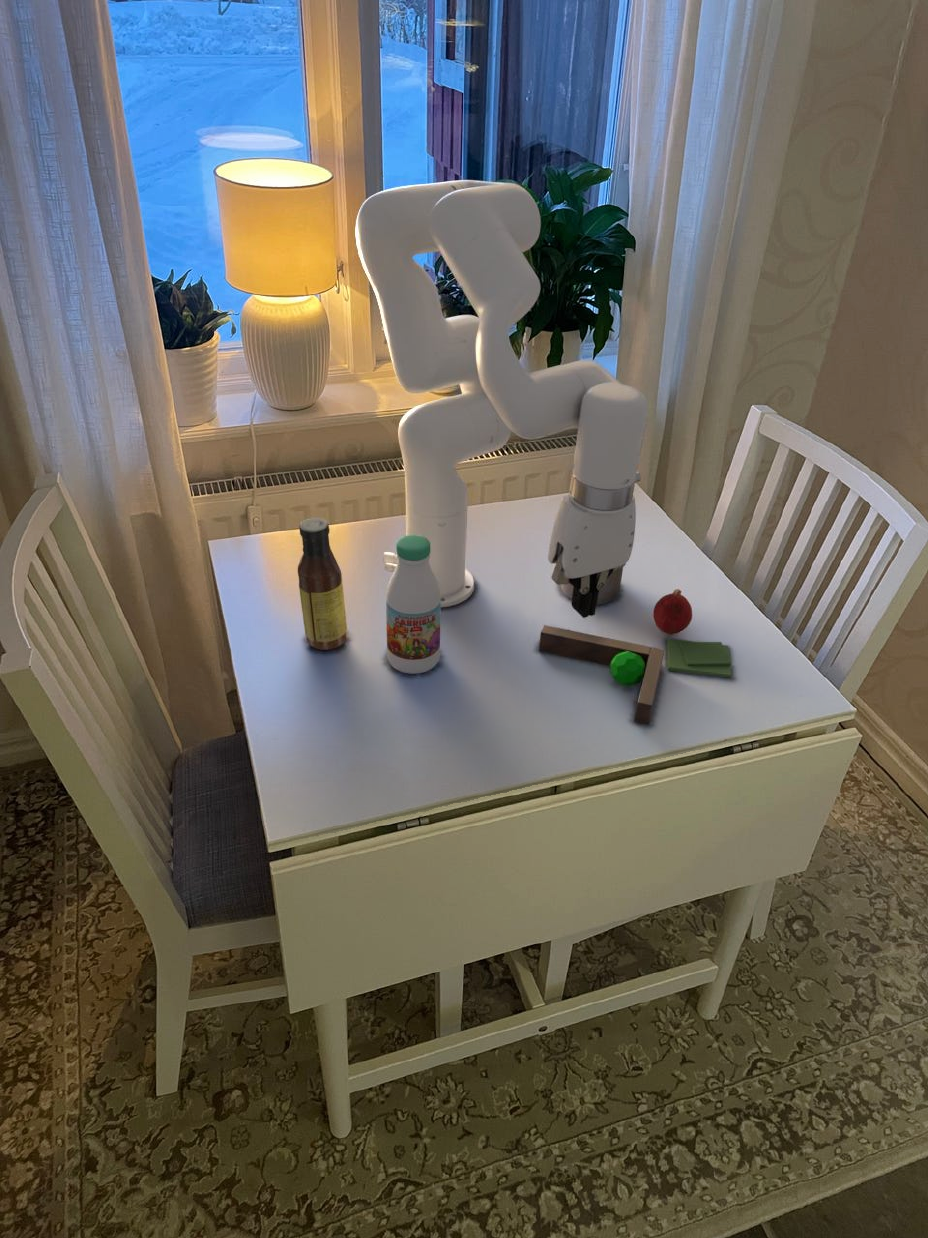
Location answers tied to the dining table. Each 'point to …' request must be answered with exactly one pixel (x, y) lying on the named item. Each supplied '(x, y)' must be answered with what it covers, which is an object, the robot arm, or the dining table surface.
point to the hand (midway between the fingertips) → (582, 610)
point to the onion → (672, 613)
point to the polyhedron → (627, 668)
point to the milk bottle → (413, 609)
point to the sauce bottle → (321, 588)
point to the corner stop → (607, 659)
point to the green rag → (699, 658)
